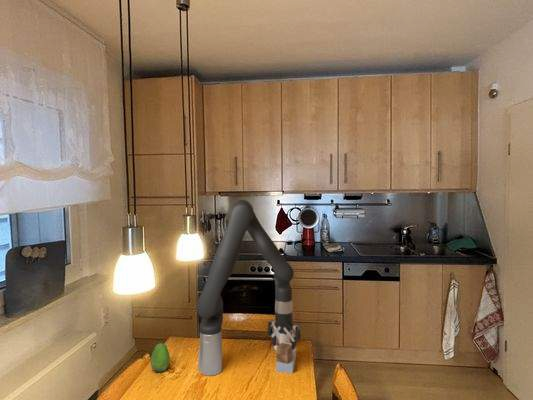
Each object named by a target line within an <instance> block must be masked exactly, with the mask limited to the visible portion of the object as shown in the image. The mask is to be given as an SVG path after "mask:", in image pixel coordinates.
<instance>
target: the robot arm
mask: <svg viewBox="0 0 533 400" xmlns="http://www.w3.org/2000/svg"><path fill="white" fill-rule="evenodd" d="M246 232H248V234H249V235H250V237H251V240H252V241H253V243H254V245H255V247H256V249H258V251H259V253H260V255H261V256H262V257H263V259H264V260H265V262H266V263H267V264H268V265H269V266H270V267H271V269H272V270H273V277H274V278H273V279H274V284H275V302H274V321H273V320H272V319H271V320H269V321H268V323H267V335H268V336H270V337H271V345H272V346H273V347H274V346H275V345H276V334H277V333H278V332H279V333H280V334H285V335H288V336H289V337H290V343H291V349H292V350H294V349H295V347H296V348H297V342H299V340H300V339H301V326H300V324H297V325H295V324H294V323H293V322H294V321H293V317H294V313H293V311H294V307H293V290H292V286H291V281H292V280H293V278H294V275H295V273H294V269H293V268H292V266H291V265H290V264H289V262H288V261H287V260H286V258H285V257H284V256H283V254H282V253H281V252H280V250H279V248H278V247H277V245H276V244H275V243H274V241H273V240H272V239H271V237H270V236H269V234H268V233H267V232H266V230H265V228H264V227H263V225H262V224H261V222H260V221H259V219H258V217H257V215H256V212H255V211H254V207H253V204H251V203H250V202H249V200H246V199H238V200H236V201H234V203H233V204H232V206H231V209H230V215H229V221H228V224H227V228H226V230H225V234H224V236H223V238H221V241H220V242H219V245H218V247H217V249H216V251H215V254H214V257H213V260H212V263H211V266H210V270H209V272H208V276H207V280H206V282H205V285H204V286H203V287H204V288H203V289H202V291H201V294H200V295H199V297H198V300H197V301H196V306H195V308H196V312H197V314H198V316H199V317H200V318H201V322H200V324H199V348H198V350H197V354H198V355H197V359H198V361H197V362H198V372H200V373H201V374H202V375H204V376H208V377H209V376H215V375H219V374H220V373H221V372H222V371H223V342H222V341H223V337H222V335H223V334H222V331H223V330H222V328H223V327H222V325H223V322H224V301H223V298H222V296H221V294H222V291H223V289H224V287H225V285H226V284H227V283H228V280H229V279H230V277H231V275H232V273H233V271H234V269H235V267H236V264H237V261H238V259H239V254H240V252H241V251H240V250H241V247H242V244H243V240H244V237H245V234H246ZM274 325H275V327H276V330H275V331H274ZM293 330H294V331H293Z"/></svg>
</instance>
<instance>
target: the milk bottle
mask: <svg viewBox="0 0 533 400" xmlns="http://www.w3.org/2000/svg"><path fill="white" fill-rule="evenodd" d="M275 330H276V327H275V325H274V326H273V332H274V331H275ZM281 343H291V338H290V337H289V336H288V335H285V334H280V333H279V332H278V333H277V334H276V345H275V346H273V350H274V351H276V352H277V347H278V346H279V345H280V344H281Z"/></svg>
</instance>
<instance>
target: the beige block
mask: <svg viewBox="0 0 533 400" xmlns="http://www.w3.org/2000/svg"><path fill="white" fill-rule="evenodd" d="M285 344H290V345H291V342H290V343H285ZM292 356H293V357H295V360H297V359H296V358H297V346H296V347H295V349H294V350H292Z"/></svg>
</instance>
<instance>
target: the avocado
mask: <svg viewBox="0 0 533 400" xmlns="http://www.w3.org/2000/svg"><path fill="white" fill-rule="evenodd" d="M170 359H171V356H170V352H169V350H168V347H167V345H166V344H165V343H163V342H159V343H157V344H156V345H155V347H154V349H153V351H152V354H151V357H150V366H151V369H152V370H153V371H155V372H156V373H161V372H163V371H165V370H167V368H168V366H169V364H170Z"/></svg>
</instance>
